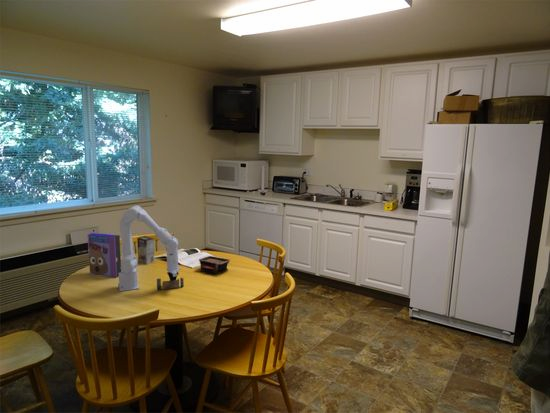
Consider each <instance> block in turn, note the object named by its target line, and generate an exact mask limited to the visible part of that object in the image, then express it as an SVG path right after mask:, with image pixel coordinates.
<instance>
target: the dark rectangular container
mask: <svg viewBox="0 0 550 413" xmlns="http://www.w3.org/2000/svg"><path fill="white" fill-rule="evenodd" d="M198 261H199V264H200V272H201V273H205V274H212V275H216V274H218V272H219V271H223V270H224V271H225V270H226V271H227V270H229V269H228V264H229V263H230V261H231V259H229V258H224V257H217V256H213V255H208V256H204V257H201V258H199V259H198Z"/></svg>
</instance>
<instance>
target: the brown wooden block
mask: <svg viewBox="0 0 550 413" xmlns="http://www.w3.org/2000/svg"><path fill="white" fill-rule="evenodd" d="M161 281H162V280H161ZM161 284H162V290H169V289H179V288H180V278H176V280H171V281H170V280H163V281H162V282H161Z"/></svg>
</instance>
